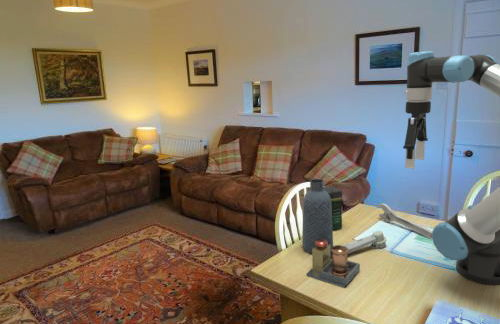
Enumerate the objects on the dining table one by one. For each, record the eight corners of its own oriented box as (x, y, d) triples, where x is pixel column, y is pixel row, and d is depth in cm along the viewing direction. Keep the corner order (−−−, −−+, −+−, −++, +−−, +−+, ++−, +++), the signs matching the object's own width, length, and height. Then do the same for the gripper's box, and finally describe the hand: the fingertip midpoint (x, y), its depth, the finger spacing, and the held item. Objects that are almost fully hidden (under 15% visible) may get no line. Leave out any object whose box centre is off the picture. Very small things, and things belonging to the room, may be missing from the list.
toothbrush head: (327, 247, 139) (379, 225, 147) (329, 262, 141) (380, 240, 149) (336, 253, 134) (388, 230, 142) (338, 268, 136) (389, 245, 144)
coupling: (350, 271, 127) (351, 247, 124) (344, 278, 122) (344, 254, 120) (335, 267, 130) (335, 243, 128) (328, 274, 126) (328, 250, 123)
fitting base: (360, 270, 128) (360, 242, 126) (345, 288, 118) (345, 258, 116) (323, 259, 137) (322, 233, 134) (306, 275, 127) (306, 247, 124)
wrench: (434, 247, 148) (375, 217, 171) (437, 246, 148) (377, 216, 172) (438, 230, 145) (377, 202, 169) (441, 229, 146) (380, 201, 170)
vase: (339, 251, 143) (339, 182, 136) (312, 258, 139) (311, 187, 132) (322, 238, 154) (321, 174, 147) (297, 245, 150) (295, 179, 143)
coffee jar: (345, 228, 162) (345, 189, 158) (329, 232, 160) (329, 192, 156) (333, 221, 171) (333, 183, 167) (318, 224, 169) (318, 186, 164)
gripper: (415, 97, 131) (412, 155, 136) (395, 104, 112) (392, 170, 117) (438, 97, 127) (434, 156, 132) (421, 104, 107) (417, 173, 112)
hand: (414, 163), depth 124 cm, fingers open, 13 cm apart
